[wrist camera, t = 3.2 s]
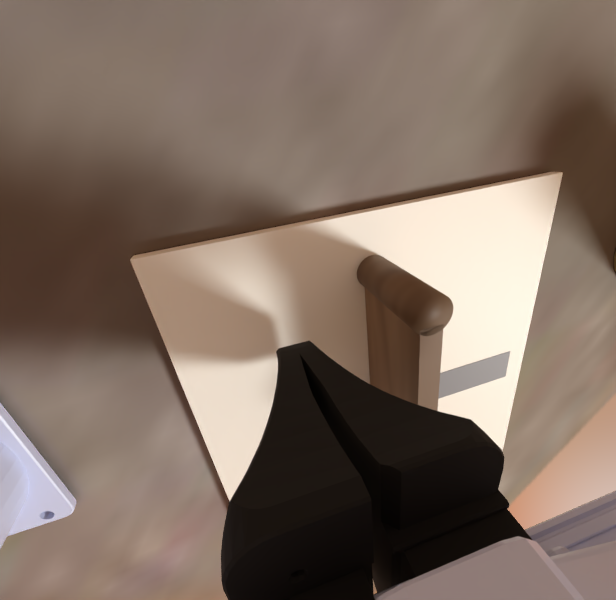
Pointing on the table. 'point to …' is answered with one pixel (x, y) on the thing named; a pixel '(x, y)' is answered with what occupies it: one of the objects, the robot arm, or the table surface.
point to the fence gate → (403, 331)
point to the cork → (615, 261)
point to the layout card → (351, 304)
